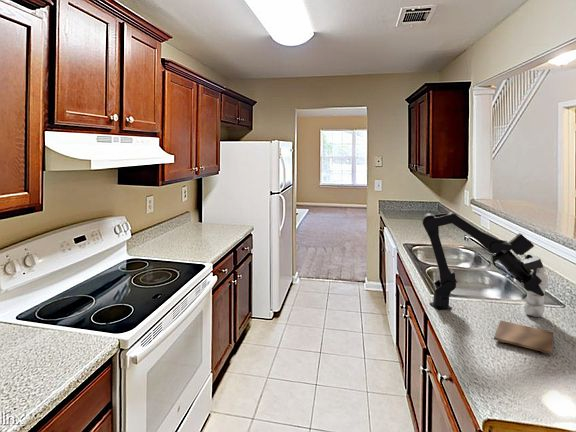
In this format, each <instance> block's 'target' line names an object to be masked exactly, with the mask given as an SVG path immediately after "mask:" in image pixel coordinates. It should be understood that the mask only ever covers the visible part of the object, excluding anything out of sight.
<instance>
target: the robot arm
mask: <svg viewBox="0 0 576 432" xmlns="http://www.w3.org/2000/svg"><path fill="white" fill-rule="evenodd" d="M421 223H422V225H423V228H424V229H425V232H426V234H427V235H428V238H429V241H430V245H431V247H432V251H433V254H434V258H435V262H436V264H437V269H438V273H437V274H438V279H437V280H436V281H435V282H433V288H434V289H433V295H432V296H433V298H432V299H433V300H432V301H431V302H429V305H431V306H432V307H433V308H434V309H435V310H451V309H452V308H453V307H452V306H451V305H450V295H451V293H452V292H453V291H454V290H455V289H456V288H457V284H458V280H457V278H456V273H455V271H454V269H453V268H451V269H450V268H449V266H448V262H447V260H446V259H447V258H446V255H445V252H444V249H443V246H442V242H441V239H440V234H439V233H440V231H439V230H440V229H439V227H443V226H446V225H451V224H452V225H453V226H455V227H457V228H459V229H460V230H462V231H463V232H464V233H466V234H467V235H469V236H470V237H472V238H473V239H475V240H477V242H479V244H480V245H482V246H483V247H484V248H485V249H486V250H487V251H488V252H489V253H490V258H489V259H490V261H491V262H492V263H495V262H496V261H498V262H499V263H500V264H501V265H502V266H503V267H504V268H505V269H506V270H507V271H508V273H509V275H510V276H511V277H513V279H515V281H517V282H518V283H519V284H520V285H521V286H522V288H524V290H525V291H526V292H528V291H531V292H533V293H536V294H538V295H540V296H544V297H545V294H544V293H543V291H542V289H541V288H540V286H539V284H540V283H541V282H542V280H541V279H540V278H539V277H538V276H536V275H535V274H531V273H532V272H533V269H536V268H539V267H540V268H541V267H543V266H544V264H543V261H542V259H541V257H539V256H537V255H532V254H530V253H528V252H529V251H530V250H532V249H533V248H534V247H535V245H534V243H532V242H531V240H529V239H527V237H525V236H524V235H523V234H522V233H518V234H516V235H515V237H513V238H512V239H510V240H509V241H508V240H503V239H499V238H498V237H496V236H495V235H493V234H489V233H488V232H484V231H482V230H480V229H478V228H477V227H476V226H474V225H473V224H471V223H469V222H468V221H466V220H465V219H464V218H462V217H460V216H459V215H457V214H456V212H453V211H450V212H447V213H446V212H444V213H434V214H433V213H429V212H427V213H424V215H423V216H422V218H421ZM526 253H527V254H526ZM518 255H519V256H523V255H524V258H523V260H521V259H520V258H518V257H517V256H518ZM530 274H531V275H530Z"/></svg>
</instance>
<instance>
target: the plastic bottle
mask: <svg viewBox="0 0 576 432" xmlns="http://www.w3.org/2000/svg"><path fill="white" fill-rule="evenodd" d="M545 269H546V267H545V266H544V265H543V267H541V268H540V267H539V268H536V269H532V272H531V274H535V275H536V276H538V277H539V278H540V279H541V280H542V282H541V283H540V284H539V286H540V288H541V289H542V291H543V293H544V294H545V293H546V289H547V286H548V282H549V280H548V278H547V275H546V274H545V272H546V270H545ZM531 274H530V275H531ZM523 311H524V313H525V315H528V316H530V317H535V318H541V317H543V316H544V313H545V295H544V296H540V295H538V294H536V293H533V292H531V291H527V295H526V300H525V303H524V306H523Z"/></svg>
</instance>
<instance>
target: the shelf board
mask: <svg viewBox="0 0 576 432" xmlns="http://www.w3.org/2000/svg"><path fill="white" fill-rule="evenodd" d="M493 340H496V341H498V343H499V344H504V343H506V344H511V345H514V346H517V347H522V348H525V349H526V348H527V349H529V350H535V351H538V352H540V353H541V354H543V355H548V354H551V355H553V347H554V345H553V343H554V331H551V330H550V331H549V330H544V329H541V328H536V327H532V326H527V325H523V324H519V323H514V322H510V321H506V320H500V321H499V324H498V326H497V329H496V331H495V334H494V336H493Z"/></svg>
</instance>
